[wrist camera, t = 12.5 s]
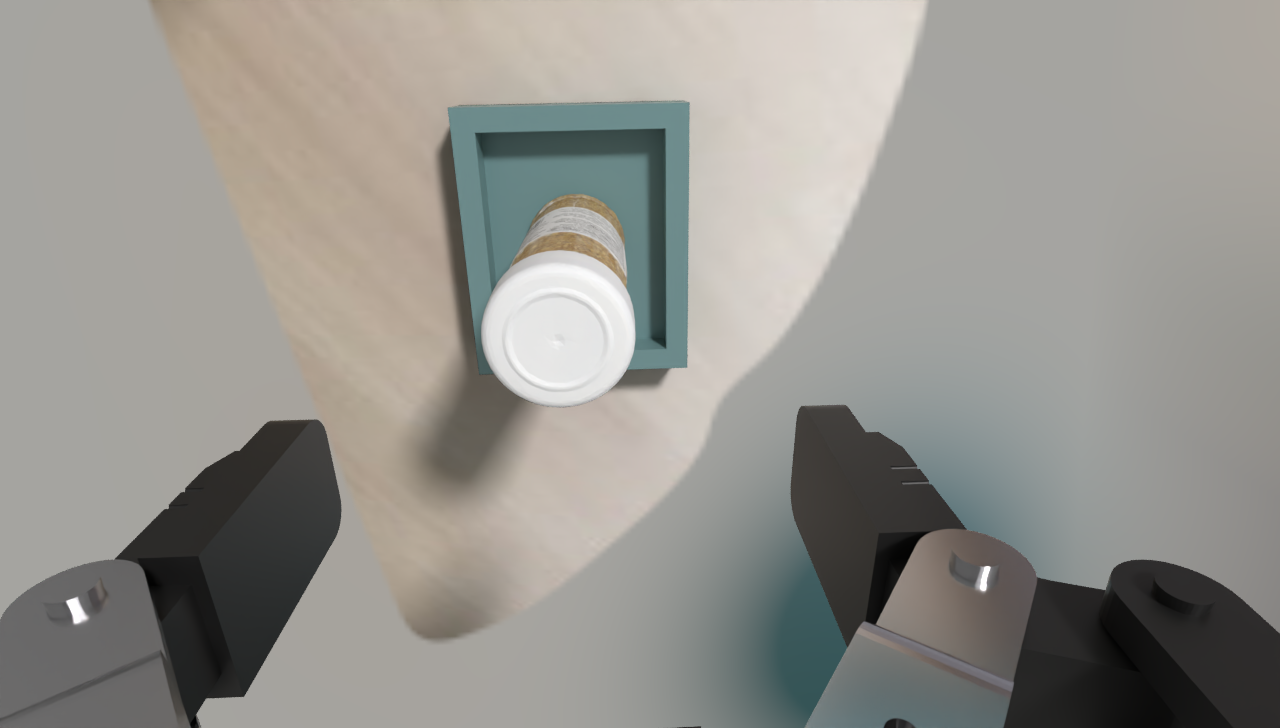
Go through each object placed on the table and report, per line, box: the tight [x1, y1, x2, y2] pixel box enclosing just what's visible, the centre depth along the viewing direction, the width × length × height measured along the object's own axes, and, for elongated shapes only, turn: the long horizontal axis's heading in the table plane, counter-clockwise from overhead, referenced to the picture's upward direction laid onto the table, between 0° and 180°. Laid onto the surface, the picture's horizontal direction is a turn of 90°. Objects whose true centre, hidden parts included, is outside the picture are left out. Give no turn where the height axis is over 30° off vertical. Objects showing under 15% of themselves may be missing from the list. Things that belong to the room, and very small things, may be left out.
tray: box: [448, 101, 689, 375], centre depth 32 cm, size 12×10×2 cm
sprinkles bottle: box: [481, 194, 635, 407], centre depth 26 cm, size 5×5×13 cm
